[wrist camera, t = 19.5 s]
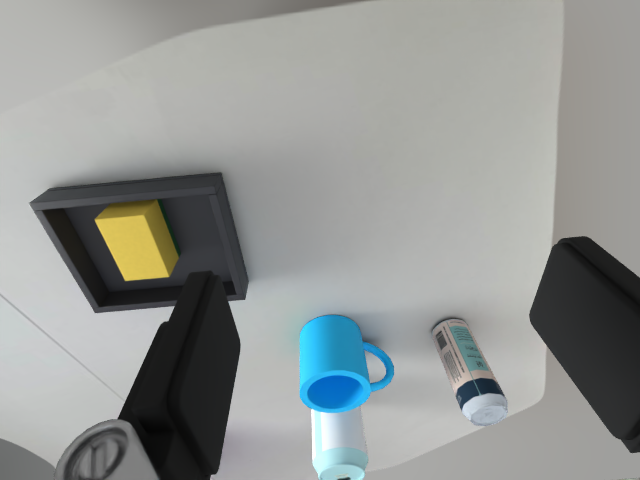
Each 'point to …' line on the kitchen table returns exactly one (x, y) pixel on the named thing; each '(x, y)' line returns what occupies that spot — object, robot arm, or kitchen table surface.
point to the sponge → (140, 238)
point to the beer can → (469, 373)
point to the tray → (186, 222)
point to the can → (339, 445)
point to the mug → (337, 365)
